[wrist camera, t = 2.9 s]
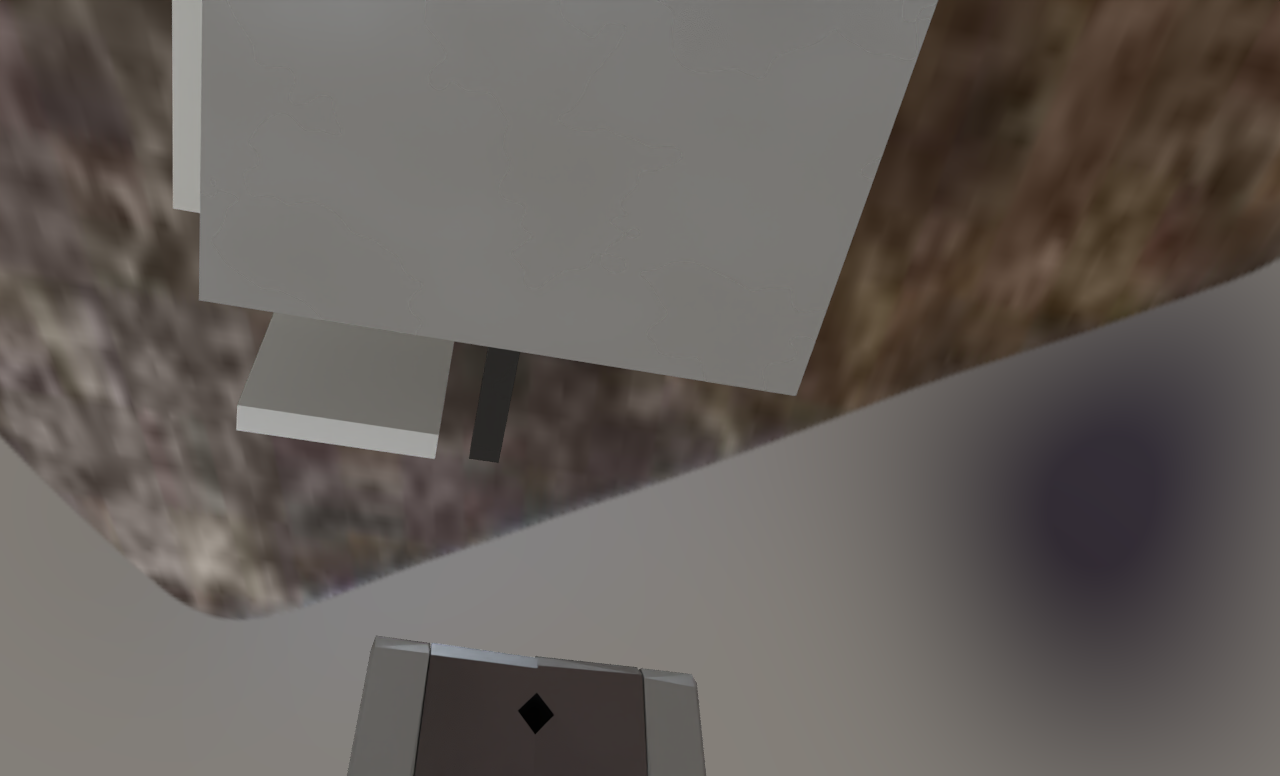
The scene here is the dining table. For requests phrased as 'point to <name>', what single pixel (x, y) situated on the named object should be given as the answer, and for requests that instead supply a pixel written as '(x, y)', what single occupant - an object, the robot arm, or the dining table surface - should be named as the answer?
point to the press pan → (550, 173)
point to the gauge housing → (314, 328)
